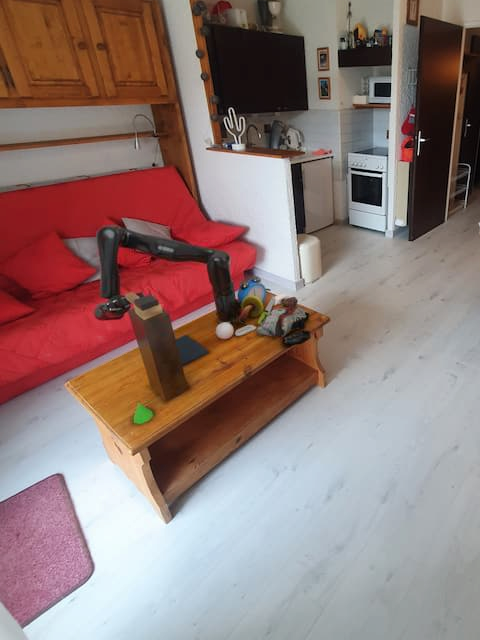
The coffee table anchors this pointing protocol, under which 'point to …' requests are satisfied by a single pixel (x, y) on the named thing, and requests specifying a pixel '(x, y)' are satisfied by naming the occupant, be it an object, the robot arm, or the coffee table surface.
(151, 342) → the tall dark wooden block
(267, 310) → the kitchen knife
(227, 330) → the white egg
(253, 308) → the mushroom
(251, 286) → the alarm clock
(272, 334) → the stone
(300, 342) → the toy car
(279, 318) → the athletic shoe
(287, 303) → the stone
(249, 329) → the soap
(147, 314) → the brush
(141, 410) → the gemstone
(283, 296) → the toy vehicle
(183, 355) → the mat
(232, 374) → the coffee table surface
